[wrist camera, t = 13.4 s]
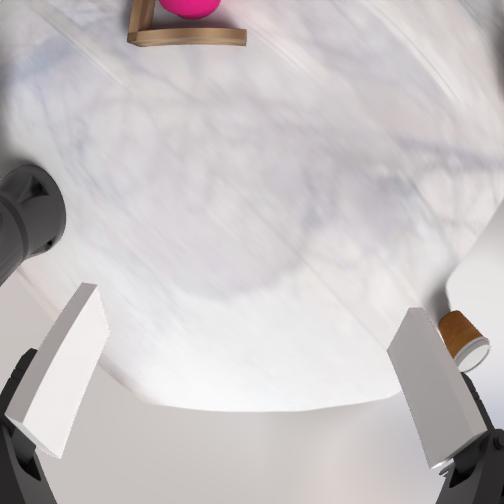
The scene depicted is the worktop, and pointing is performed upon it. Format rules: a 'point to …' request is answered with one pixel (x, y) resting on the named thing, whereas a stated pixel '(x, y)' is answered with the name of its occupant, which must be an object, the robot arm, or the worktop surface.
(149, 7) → the u rest
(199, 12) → the pepper mill
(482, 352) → the disposable coffee cup
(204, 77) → the worktop surface
